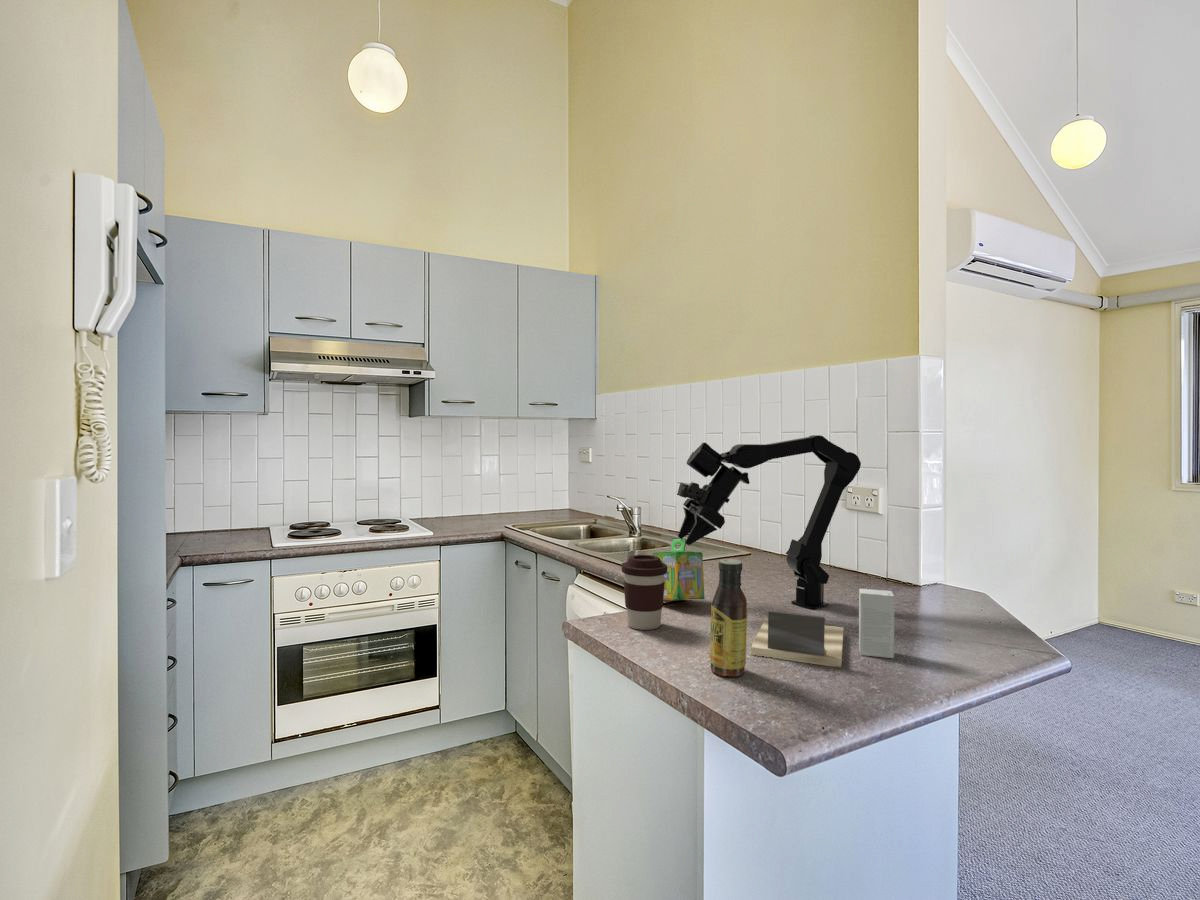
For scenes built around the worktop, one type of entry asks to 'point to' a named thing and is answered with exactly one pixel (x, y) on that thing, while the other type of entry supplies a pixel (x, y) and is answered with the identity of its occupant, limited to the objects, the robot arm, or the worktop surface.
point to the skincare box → (876, 623)
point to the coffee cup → (644, 591)
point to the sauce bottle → (728, 622)
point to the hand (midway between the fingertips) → (683, 540)
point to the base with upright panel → (799, 639)
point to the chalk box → (682, 573)
